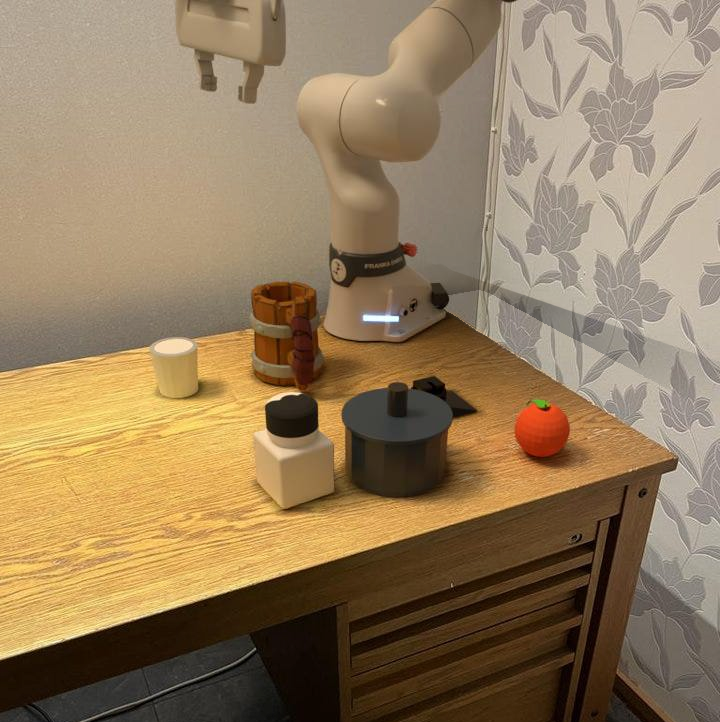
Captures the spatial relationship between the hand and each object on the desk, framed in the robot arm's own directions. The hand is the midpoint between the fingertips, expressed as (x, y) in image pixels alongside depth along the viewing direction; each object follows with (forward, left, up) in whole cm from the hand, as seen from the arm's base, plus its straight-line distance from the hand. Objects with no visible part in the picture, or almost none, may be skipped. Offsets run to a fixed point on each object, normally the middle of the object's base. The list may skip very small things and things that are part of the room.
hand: (227, 96), depth 102 cm
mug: (-4, +6, -39) cm, 40 cm away
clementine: (-15, +44, -39) cm, 61 cm away
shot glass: (+11, -2, -39) cm, 41 cm away
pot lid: (+2, +35, -31) cm, 47 cm away
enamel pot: (+2, +35, -39) cm, 52 cm away
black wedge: (-12, +27, -39) cm, 49 cm away
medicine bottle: (+14, +30, -39) cm, 51 cm away
